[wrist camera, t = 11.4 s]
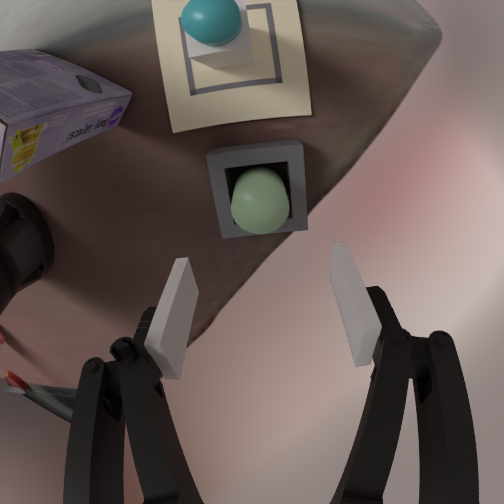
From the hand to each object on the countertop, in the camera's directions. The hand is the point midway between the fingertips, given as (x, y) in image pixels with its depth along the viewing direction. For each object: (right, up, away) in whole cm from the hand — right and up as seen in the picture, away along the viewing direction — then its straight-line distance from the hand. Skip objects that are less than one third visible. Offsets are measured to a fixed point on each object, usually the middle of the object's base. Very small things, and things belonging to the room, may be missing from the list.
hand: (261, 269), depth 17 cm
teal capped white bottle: (-3, +20, +5) cm, 21 cm away
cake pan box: (-22, +21, +6) cm, 31 cm away
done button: (0, +7, +11) cm, 13 cm away
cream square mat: (-3, +21, +5) cm, 21 cm away
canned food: (-87, -46, +50) cm, 110 cm away
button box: (0, +8, +13) cm, 15 cm away
